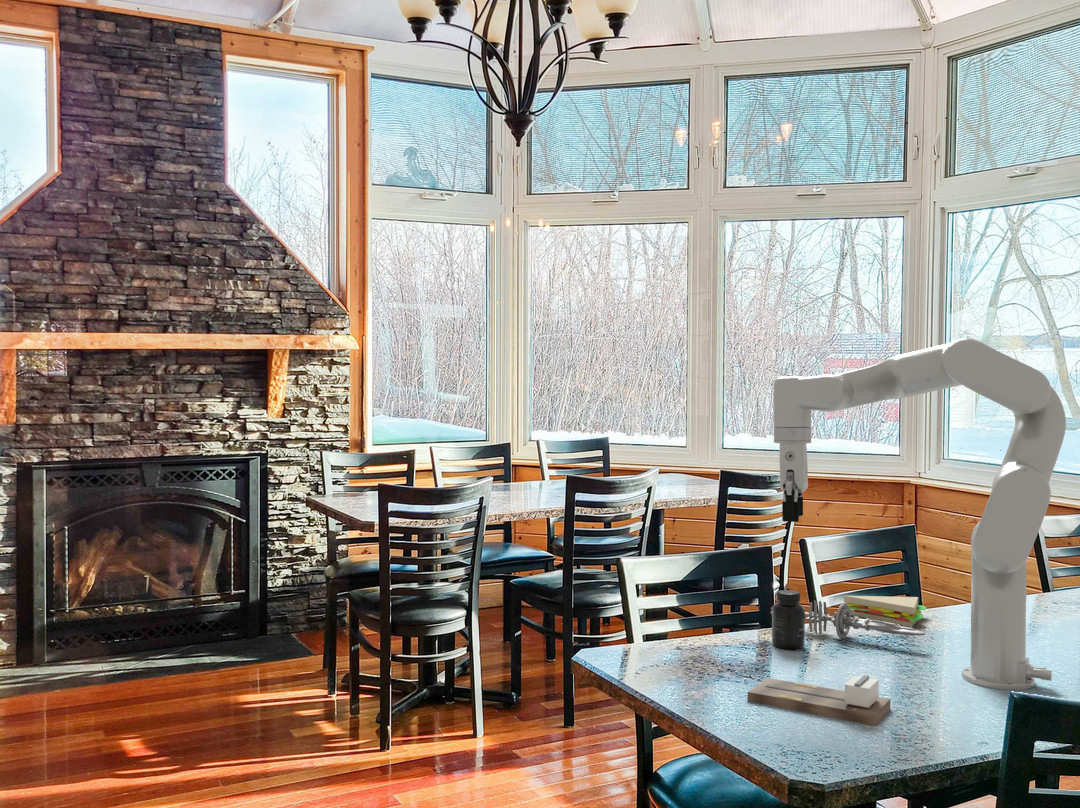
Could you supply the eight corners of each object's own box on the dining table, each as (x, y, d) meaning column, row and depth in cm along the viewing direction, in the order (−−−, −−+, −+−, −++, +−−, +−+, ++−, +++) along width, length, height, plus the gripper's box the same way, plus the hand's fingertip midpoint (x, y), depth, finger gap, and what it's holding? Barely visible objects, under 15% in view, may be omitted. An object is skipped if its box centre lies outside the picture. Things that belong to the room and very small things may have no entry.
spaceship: (918, 656, 201) (919, 618, 201) (764, 629, 223) (764, 595, 223) (931, 648, 207) (931, 611, 207) (779, 623, 230) (779, 590, 229)
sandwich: (858, 608, 248) (858, 588, 248) (937, 619, 235) (937, 598, 235) (834, 618, 236) (834, 598, 236) (915, 631, 223) (915, 609, 223)
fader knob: (878, 698, 166) (878, 677, 166) (868, 707, 161) (869, 686, 161) (854, 694, 168) (854, 673, 168) (844, 703, 163) (844, 682, 163)
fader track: (890, 710, 167) (890, 698, 167) (874, 727, 159) (874, 714, 159) (767, 688, 179) (767, 677, 179) (747, 703, 171) (747, 691, 171)
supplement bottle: (808, 651, 204) (808, 595, 204) (775, 651, 205) (776, 595, 204) (800, 643, 211) (800, 588, 211) (768, 643, 211) (769, 588, 211)
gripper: (807, 438, 191) (808, 524, 191) (814, 434, 207) (814, 514, 207) (768, 437, 193) (769, 523, 193) (778, 434, 209) (778, 512, 210)
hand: (792, 518), depth 200 cm, fingers open, 9 cm apart
